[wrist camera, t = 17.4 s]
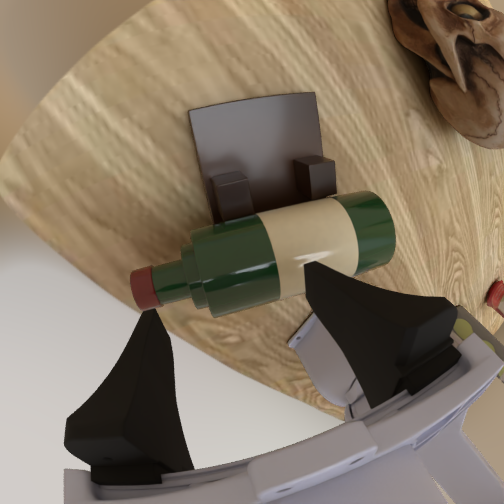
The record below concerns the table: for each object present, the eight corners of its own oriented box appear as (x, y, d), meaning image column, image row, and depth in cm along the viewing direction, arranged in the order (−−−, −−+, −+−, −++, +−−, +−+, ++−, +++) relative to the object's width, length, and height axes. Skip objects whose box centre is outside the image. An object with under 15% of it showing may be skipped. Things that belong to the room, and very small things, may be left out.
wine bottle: (351, 180, 19) (400, 206, 15) (350, 244, 22) (390, 281, 17) (127, 232, 17) (112, 280, 12) (154, 297, 20) (152, 353, 15)
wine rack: (324, 271, 26) (343, 291, 23) (232, 300, 24) (242, 325, 21) (309, 92, 18) (333, 89, 15) (187, 111, 16) (190, 108, 13)
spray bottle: (463, 304, 40) (529, 366, 23) (451, 324, 42) (512, 387, 25) (454, 304, 39) (524, 373, 22) (441, 326, 41) (506, 395, 24)
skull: (392, -41, 11) (500, -50, 1) (468, 57, 20) (551, 79, 9) (346, 51, 17) (498, 60, 6) (438, 145, 26) (531, 189, 15)
